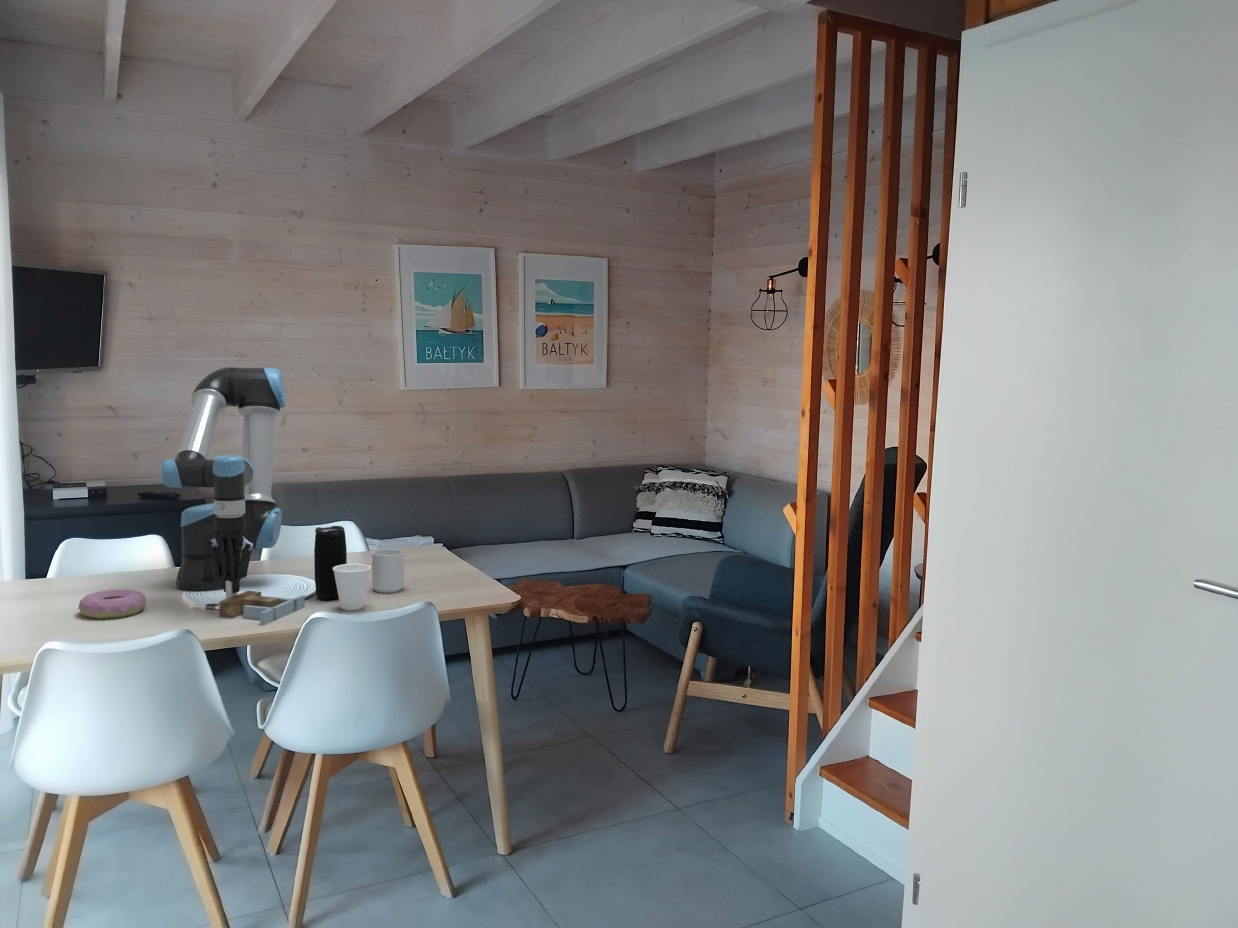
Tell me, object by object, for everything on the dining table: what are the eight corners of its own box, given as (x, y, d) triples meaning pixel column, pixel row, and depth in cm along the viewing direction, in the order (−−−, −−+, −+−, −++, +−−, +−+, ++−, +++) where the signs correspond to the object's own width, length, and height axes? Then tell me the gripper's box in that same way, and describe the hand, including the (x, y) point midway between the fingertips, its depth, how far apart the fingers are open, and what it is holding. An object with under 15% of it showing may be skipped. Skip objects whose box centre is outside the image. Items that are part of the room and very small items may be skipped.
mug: (405, 592, 273) (405, 554, 272) (373, 594, 270) (373, 555, 269) (401, 583, 284) (401, 546, 283) (370, 584, 281) (370, 547, 280)
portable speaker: (339, 591, 272) (339, 524, 270) (352, 598, 265) (351, 529, 263) (309, 595, 267) (309, 526, 265) (321, 603, 260) (321, 532, 257)
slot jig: (234, 621, 240) (233, 609, 240) (276, 603, 258) (275, 593, 257) (264, 624, 238) (264, 612, 238) (304, 606, 256) (304, 595, 255)
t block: (219, 616, 244) (219, 601, 244) (248, 605, 256) (247, 590, 256) (261, 620, 242) (260, 605, 241) (288, 608, 253) (287, 594, 253)
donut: (71, 611, 246) (70, 593, 246) (134, 602, 257) (134, 584, 256) (90, 624, 235) (89, 605, 235) (155, 614, 246) (154, 595, 245)
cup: (375, 603, 261) (374, 563, 259) (366, 613, 251) (366, 571, 250) (338, 602, 260) (338, 563, 259) (328, 612, 250) (328, 571, 249)
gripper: (198, 516, 246) (200, 605, 248) (243, 519, 243) (245, 610, 245) (217, 511, 253) (219, 598, 256) (260, 514, 250) (262, 602, 253)
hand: (231, 604), depth 250 cm, fingers closed
